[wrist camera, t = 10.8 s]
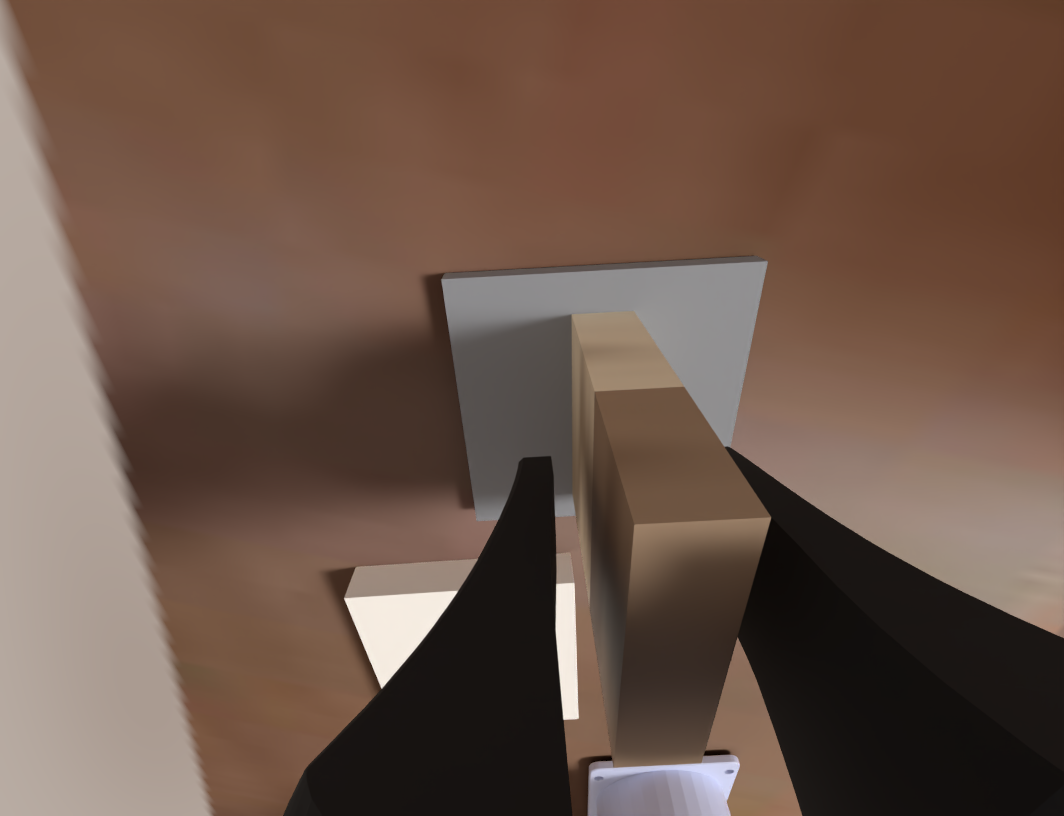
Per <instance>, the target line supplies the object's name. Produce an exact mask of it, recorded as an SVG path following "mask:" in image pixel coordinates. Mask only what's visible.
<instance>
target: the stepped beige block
mask: <svg viewBox="0 0 1064 816" xmlns="http://www.w3.org/2000/svg"><path fill="white" fill-rule="evenodd" d="M572 494H573V501H574V508H575V514H576V521H577V528H578V534H579V541H580V548H581V554H582V561H583V568H584V574H585V581H586V588H587V594H588V601H589V607H590V614H591V621H592V627H593V634H594V641H595V647H596V654H597V661H598V667H599V674H600V681H601V687H602V694H603V701H604V707H605V714H606V721H607V727H608V734H609V741H610V747H611V754H612V761H613V767H614V768H619V767H638V766H658V765H677V764H697V763H702V760H703V756H704V753H705V749H706V746H707V742H708V739H709V735H710V732H711V728H712V725H713V721H714V718H715V714H716V711H717V707H718V704H719V700H720V696H721V693H722V689H723V686H724V682H725V679H726V675H727V672H728V668H729V665H730V661H731V658H732V654H733V651H734V647H735V644H736V640H737V637H738V633H739V630H740V626H741V622H742V619H743V615H744V612H745V608H746V605H747V601H748V598H749V594H750V591H751V587H752V584H753V580H754V577H755V573H756V570H757V566H758V563H759V559H760V556H761V552H762V548H763V545H764V541H765V538H766V534H767V531H768V527H769V524H770V520H771V516H770V515H769V513H768V512H767V510H766V509H765V507H764V506H763V504H762V503H761V501H760V500H759V498H758V497H757V495H756V494H755V492H754V491H753V489H752V488H751V486H750V485H749V483H748V482H747V480H746V479H745V477H744V476H743V474H742V473H741V471H740V470H739V468H738V467H737V465H736V464H735V462H734V461H733V459H732V458H731V456H730V455H729V453H728V452H727V450H726V449H725V447H724V446H723V444H722V443H721V441H720V440H719V438H718V437H717V435H716V434H715V432H714V431H713V429H712V428H711V426H710V425H709V423H708V422H707V420H706V418H705V417H704V415H703V414H702V412H701V411H700V409H699V408H698V406H697V405H696V403H695V402H694V400H693V399H692V397H691V396H690V394H689V393H688V391H687V390H686V388H685V387H684V385H683V384H682V382H681V381H680V379H679V378H678V376H677V375H676V373H675V372H674V370H673V369H672V367H671V366H670V364H669V363H668V361H667V360H666V358H665V357H664V355H663V354H662V352H661V351H660V349H659V348H658V346H657V345H656V343H655V342H654V340H653V339H652V337H651V336H650V334H649V333H648V331H647V330H646V328H645V327H644V325H643V324H642V322H641V321H640V319H639V318H638V316H637V315H636V313H635V312H634V311H624V312H605V313H587V314H572Z"/></svg>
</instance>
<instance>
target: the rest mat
mask: <svg viewBox="0 0 1064 816" xmlns="http://www.w3.org/2000/svg"><path fill="white" fill-rule="evenodd" d="M767 262H768V261H766V260H764V259H762V258H760V257H758V256H745V257H727V258H709V259H691V260H673V261H655V262H637V263H619V264H601V265H583V266H565V267H547V268H529V269H511V270H493V271H475V272H457V273H445V274H444V275H443V277H442V279H441V281H442V287H443V294H444V301H445V308H446V315H447V322H448V328H449V335H450V342H451V349H452V356H453V362H454V369H455V376H456V383H457V390H458V397H459V403H460V410H461V417H462V424H463V431H464V437H465V444H466V451H467V458H468V465H469V471H470V478H471V485H472V492H473V499H474V506H475V512H476V519H477V521H487V520H499V517H500V515H501V513H502V511H503V508H504V506H505V504H506V502H507V499H508V497H509V494H510V491H511V489H512V486H513V483H514V480H515V477H516V473H517V469H518V463H519V461H520V460H521V459H522V458H523V457H541V456H551V459H552V466H553V474H554V499H555V517H562V516H576V514H575V508H574V501H573V494H572V314H587V313H605V312H624V311H634V312H635V313H636V315H637V316H638V318H639V319H640V321H641V322H642V324H643V325H644V327H645V328H646V330H647V331H648V333H649V334H650V336H651V337H652V339H653V340H654V342H655V343H656V345H657V346H658V348H659V349H660V351H661V352H662V354H663V355H664V357H665V358H666V360H667V361H668V363H669V364H670V366H671V367H672V369H673V370H674V372H675V373H676V375H677V376H678V378H679V379H680V381H681V382H682V384H683V385H684V387H685V388H686V390H687V391H688V393H689V394H690V396H691V397H692V399H693V400H694V402H695V403H696V405H697V406H698V408H699V409H700V411H701V412H702V414H703V415H704V417H705V418H706V420H707V422H708V423H709V425H710V426H711V428H712V429H713V431H714V432H715V434H716V435H717V437H718V438H719V440H720V441H721V443H722V444H723V446H724V447H726V446H728V447H730V446H731V441H732V436H733V431H734V426H735V421H736V416H737V411H738V406H739V401H740V396H741V391H742V386H743V381H744V376H745V371H746V366H747V361H748V356H749V352H750V347H751V342H752V337H753V332H754V327H755V322H756V317H757V312H758V307H759V302H760V297H761V292H762V287H763V282H764V277H765V272H766V267H767Z"/></svg>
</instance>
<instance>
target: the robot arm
mask: <svg viewBox="0 0 1064 816" xmlns="http://www.w3.org/2000/svg"><path fill="white" fill-rule="evenodd" d="M725 449H726V450H727V452H728V453H729V455H730V456H731V458H732V459H733V461H734V462H735V464H736V465H737V467H738V468H739V470H740V471H741V473H742V474H743V476H744V477H745V479H746V480H747V482H748V483H749V485H750V486H751V488H752V489H753V491H754V492H755V494H756V495H757V497H758V498H759V500H760V501H761V503H762V504H763V506H764V507H765V509H766V510H767V512H768V513H769V515H770V516H771V520H770V524H769V527H768V531H767V534H766V538H765V541H764V545H763V548H762V552H761V556H760V559H759V563H758V566H757V570H756V573H755V577H754V580H753V584H752V587H751V591H750V594H749V598H748V601H747V605H746V608H745V612H744V615H743V619H742V622H741V626H740V630H739V633H738V638H739V641H740V643H741V645H742V647H743V649H744V651H745V654H746V656H747V658H748V660H749V663H750V665H751V667H752V670H753V672H754V675H755V677H756V679H757V682H758V685H759V688H760V691H761V693H762V696H763V699H764V702H765V705H766V707H767V710H768V713H769V716H770V719H771V721H772V724H773V727H774V730H775V733H776V736H777V739H778V742H779V745H780V748H781V751H782V754H783V757H784V760H785V763H786V766H787V769H788V772H789V775H790V778H791V781H792V784H793V787H794V790H795V793H796V796H797V799H798V803H799V806H800V809H801V812H802V816H1064V638H1062V637H1060V636H1057V635H1055V634H1053V633H1050V632H1048V631H1046V630H1044V629H1041V628H1039V627H1037V626H1035V625H1032V624H1030V623H1028V622H1026V621H1023V620H1021V619H1019V618H1017V617H1014V616H1012V615H1010V614H1008V613H1006V612H1004V611H1002V610H1000V609H998V608H995V607H993V606H991V605H989V604H987V603H985V602H983V601H981V600H979V599H977V598H974V597H972V596H970V595H968V594H966V593H964V592H962V591H960V590H958V589H956V588H954V587H952V586H950V585H948V584H946V583H944V582H942V581H940V580H938V579H936V578H934V577H932V576H930V575H929V574H927V573H925V572H923V571H921V570H919V569H918V568H916V567H914V566H912V565H910V564H908V563H907V562H905V561H903V560H901V559H899V558H897V557H896V556H894V555H892V554H890V553H888V552H887V551H885V550H883V549H882V548H880V547H878V546H876V545H875V544H873V543H871V542H870V541H868V540H866V539H865V538H863V537H861V536H860V535H858V534H857V533H855V532H853V531H852V530H850V529H849V528H847V527H845V526H844V525H842V524H841V523H839V522H837V521H836V520H834V519H833V518H831V517H830V516H828V515H827V514H825V513H824V512H822V511H821V510H819V509H817V508H816V507H815V506H813V505H812V504H810V503H809V502H807V501H806V500H804V499H803V498H801V497H800V496H798V495H797V494H796V493H794V492H793V491H791V490H790V489H788V488H787V487H786V486H784V485H783V484H781V483H780V482H779V481H777V480H776V479H774V478H773V477H772V476H770V475H769V474H767V473H766V472H765V471H763V470H762V469H760V468H759V467H758V466H756V465H755V464H753V463H752V462H751V461H749V460H748V459H746V458H745V457H743V456H742V455H741V454H739V453H738V452H736V451H735V450H733V449H732V448H730V447H728V446H726V447H725ZM556 578H557V561H556V530H555V499H554V474H553V466H552V459H551V456H541V457H523V458H522V459H521V460H520V461H519V463H518V469H517V473H516V477H515V480H514V483H513V486H512V489H511V491H510V494H509V497H508V499H507V502H506V504H505V506H504V508H503V511H502V513H501V515H500V517H499V520H498V522H497V524H496V526H495V528H494V530H493V532H492V534H491V536H490V538H489V539H488V541H487V543H486V545H485V547H484V549H483V551H482V553H481V554H480V556H479V558H478V560H477V562H476V563H475V565H474V567H473V568H472V570H471V572H470V573H469V575H468V576H467V578H466V580H465V581H464V583H463V584H462V586H461V587H460V589H459V590H458V592H457V593H456V595H455V596H454V598H453V599H452V601H451V602H450V604H449V605H448V606H447V608H446V609H445V611H444V612H443V613H442V615H441V616H440V617H439V619H438V620H437V622H436V623H435V624H434V626H433V627H432V629H431V630H430V631H429V632H428V634H427V635H426V636H425V638H424V639H423V640H422V641H421V643H420V644H419V645H418V646H417V648H416V649H415V650H414V651H413V652H412V654H411V655H410V656H409V657H408V658H407V660H406V661H405V662H404V663H403V664H402V665H401V667H400V668H399V669H398V670H397V671H396V672H395V674H394V675H393V676H392V677H391V678H390V680H389V681H388V682H387V683H386V684H385V685H384V687H383V688H382V689H381V690H380V691H379V692H378V694H377V695H376V696H375V697H374V698H373V699H372V700H371V701H370V702H369V703H368V705H367V706H366V707H365V708H364V709H363V710H362V711H361V712H360V713H359V714H358V715H357V716H356V717H355V718H354V719H353V720H352V721H351V722H350V723H349V724H348V725H347V726H346V727H345V728H344V729H343V730H342V731H341V733H340V734H339V735H338V736H337V737H336V738H335V739H334V740H333V741H332V742H331V743H330V744H329V745H328V746H327V747H326V748H325V749H324V750H323V751H322V752H321V753H320V754H319V755H318V756H317V757H316V758H315V759H314V760H313V761H312V762H311V763H310V764H309V765H308V767H307V768H306V769H305V771H304V773H303V775H302V777H301V779H300V781H299V783H298V785H297V787H296V789H295V791H294V793H293V795H292V797H291V799H290V801H289V803H288V806H287V808H286V810H285V813H284V815H283V816H572V807H571V797H570V786H569V775H568V764H567V753H566V742H565V731H564V720H563V709H562V698H561V687H560V675H559V663H558V652H557V640H556ZM739 766H740V764H739V761H738V758H737V757H736V756H734V755H713V756H703V760H702V763H697V764H677V765H658V766H638V767H619V768H614V767H613V761H598V762H593V763H591V764H590V765H589V778H588V816H731V815H730V812H729V808H728V805H727V799H728V796H729V793H730V791H731V788H732V785H733V783H734V780H735V777H736V775H737V772H738V769H739Z"/></svg>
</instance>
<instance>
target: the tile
mask: <svg viewBox="0 0 1064 816" xmlns="http://www.w3.org/2000/svg"><path fill="white" fill-rule="evenodd" d="M477 560H478V559H468V560H452V561H437V562H422V563H407V564H392V565H377V566H362V567H356V568H355V570H354V573H353V576H352V578H351V581H350V584H349V586H348V589H347V592H346V594H345V597H344V599H345V602H346V604H347V607H348V609H349V611H350V614H351V616H352V619H353V621H354V623H355V626H356V628H357V631H358V633H359V635H360V638H361V640H362V643H363V645H364V647H365V650H366V652H367V655H368V657H369V659H370V662H371V664H372V667H373V669H374V671H375V674H376V676H377V679H378V681H379V683H380V686H381V688H383V687H384V685H385V684H386V683H387V682H388V681H389V680H390V678H391V677H392V676H393V675H394V674H395V672H396V671H397V670H398V669H399V668H400V667H401V665H402V664H403V663H404V662H405V661H406V660H407V658H408V657H409V656H410V655H411V654H412V652H413V651H414V650H415V649H416V648H417V646H418V645H419V644H420V643H421V641H422V640H423V639H424V638H425V636H426V635H427V634H428V632H429V631H430V630H431V629H432V627H433V626H434V624H435V623H436V622H437V620H438V619H439V617H440V616H441V615H442V613H443V612H444V611H445V609H446V608H447V606H448V605H449V604H450V602H451V601H452V599H453V598H454V596H455V595H456V593H457V592H458V590H459V589H460V587H461V586H462V584H463V583H464V581H465V580H466V578H467V576H468V575H469V573H470V572H471V570H472V568H473V567H474V565H475V563H476V562H477ZM556 561H557V578H556V640H557V652H558V663H559V675H560V687H561V698H562V709H563V720H567V719H578V687H577V655H576V622H575V590H574V577H573V569H572V561H571V553H558V554H556Z"/></svg>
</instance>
